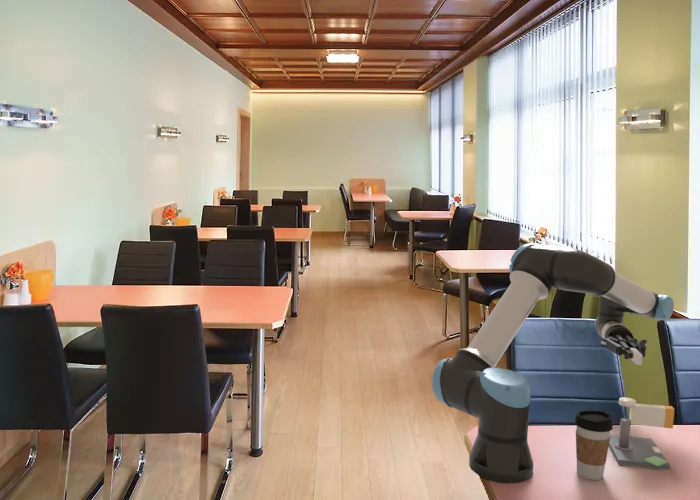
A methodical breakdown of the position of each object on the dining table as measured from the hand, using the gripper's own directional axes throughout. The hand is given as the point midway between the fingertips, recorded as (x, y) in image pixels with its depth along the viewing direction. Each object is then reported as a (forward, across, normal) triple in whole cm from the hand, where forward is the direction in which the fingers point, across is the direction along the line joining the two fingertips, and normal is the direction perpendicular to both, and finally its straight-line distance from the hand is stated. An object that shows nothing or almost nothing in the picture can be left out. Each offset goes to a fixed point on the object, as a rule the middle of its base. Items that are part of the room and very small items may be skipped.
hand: (639, 359), depth 165 cm
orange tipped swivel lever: (+9, 0, -21) cm, 23 cm away
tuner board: (+9, +2, -22) cm, 24 cm away
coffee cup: (+24, +16, -22) cm, 36 cm away
